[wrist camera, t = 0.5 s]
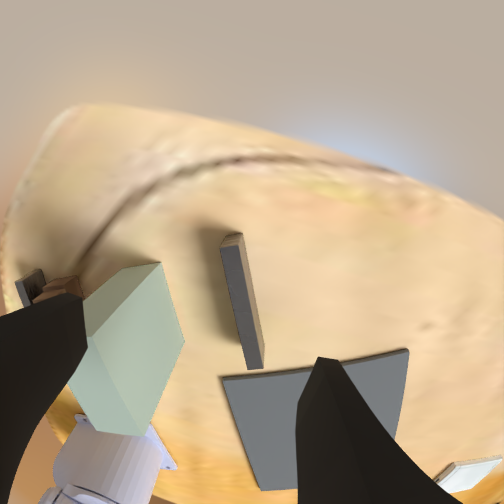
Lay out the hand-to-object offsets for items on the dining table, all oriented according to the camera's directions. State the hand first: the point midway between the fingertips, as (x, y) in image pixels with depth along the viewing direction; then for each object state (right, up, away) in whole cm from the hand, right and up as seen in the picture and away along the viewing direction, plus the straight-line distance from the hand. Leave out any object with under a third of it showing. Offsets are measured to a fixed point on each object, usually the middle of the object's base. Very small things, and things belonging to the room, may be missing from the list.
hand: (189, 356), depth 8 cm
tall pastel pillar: (-5, -1, +12) cm, 13 cm away
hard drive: (+32, -29, +19) cm, 48 cm away
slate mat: (+8, -14, +15) cm, 22 cm away
